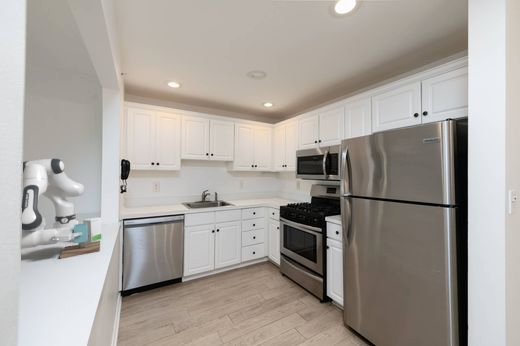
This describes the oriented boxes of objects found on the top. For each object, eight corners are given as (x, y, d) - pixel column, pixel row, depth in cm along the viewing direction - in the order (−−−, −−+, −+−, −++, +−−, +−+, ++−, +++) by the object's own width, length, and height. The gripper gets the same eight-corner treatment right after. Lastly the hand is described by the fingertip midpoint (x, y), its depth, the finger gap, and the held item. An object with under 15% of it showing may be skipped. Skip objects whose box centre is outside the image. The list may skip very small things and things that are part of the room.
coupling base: (64, 249, 140) (64, 234, 140) (100, 242, 150) (99, 228, 150) (60, 258, 125) (59, 242, 125) (99, 251, 136) (98, 235, 135)
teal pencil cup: (75, 240, 138) (74, 224, 138) (87, 238, 141) (87, 223, 141) (74, 243, 133) (73, 226, 133) (87, 241, 137) (86, 225, 136)
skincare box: (91, 243, 150) (90, 220, 149) (83, 242, 151) (82, 220, 150) (102, 239, 158) (101, 217, 157) (94, 238, 159) (93, 217, 159)
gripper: (48, 235, 121) (81, 230, 129) (55, 227, 138) (83, 223, 146) (49, 246, 121) (81, 241, 129) (55, 237, 138) (84, 233, 146)
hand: (82, 231), depth 138 cm, fingers closed on teal pencil cup, 6 cm apart
